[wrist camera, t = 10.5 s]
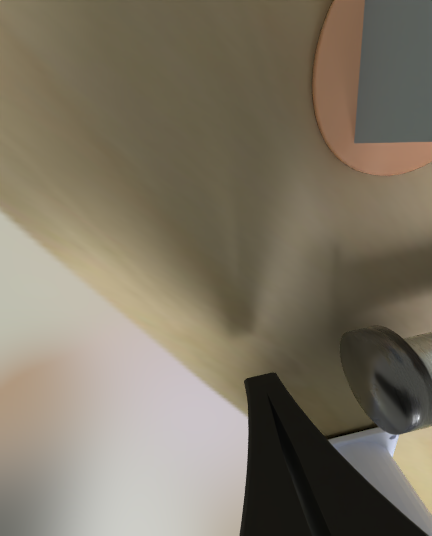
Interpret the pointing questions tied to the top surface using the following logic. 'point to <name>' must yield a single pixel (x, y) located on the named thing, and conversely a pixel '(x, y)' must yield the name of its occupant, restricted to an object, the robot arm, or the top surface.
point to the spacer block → (395, 73)
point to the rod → (390, 377)
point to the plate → (352, 98)
